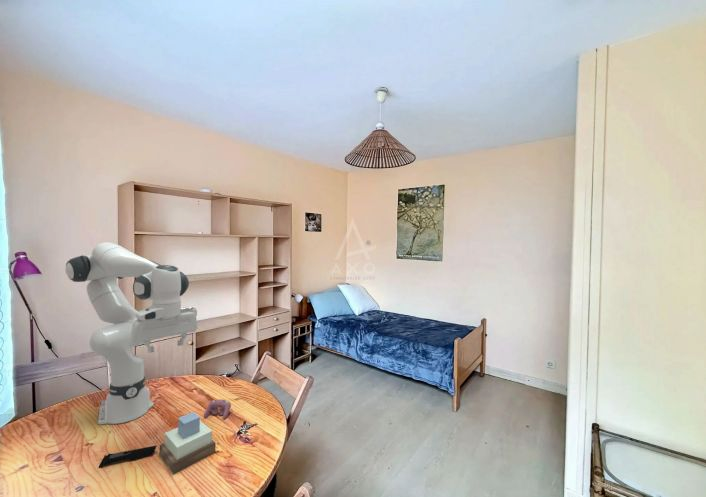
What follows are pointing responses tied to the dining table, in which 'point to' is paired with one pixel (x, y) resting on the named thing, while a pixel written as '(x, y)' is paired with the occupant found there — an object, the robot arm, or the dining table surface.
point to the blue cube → (188, 425)
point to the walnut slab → (185, 457)
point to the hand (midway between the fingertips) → (166, 348)
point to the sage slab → (187, 441)
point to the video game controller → (213, 406)
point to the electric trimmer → (127, 455)
